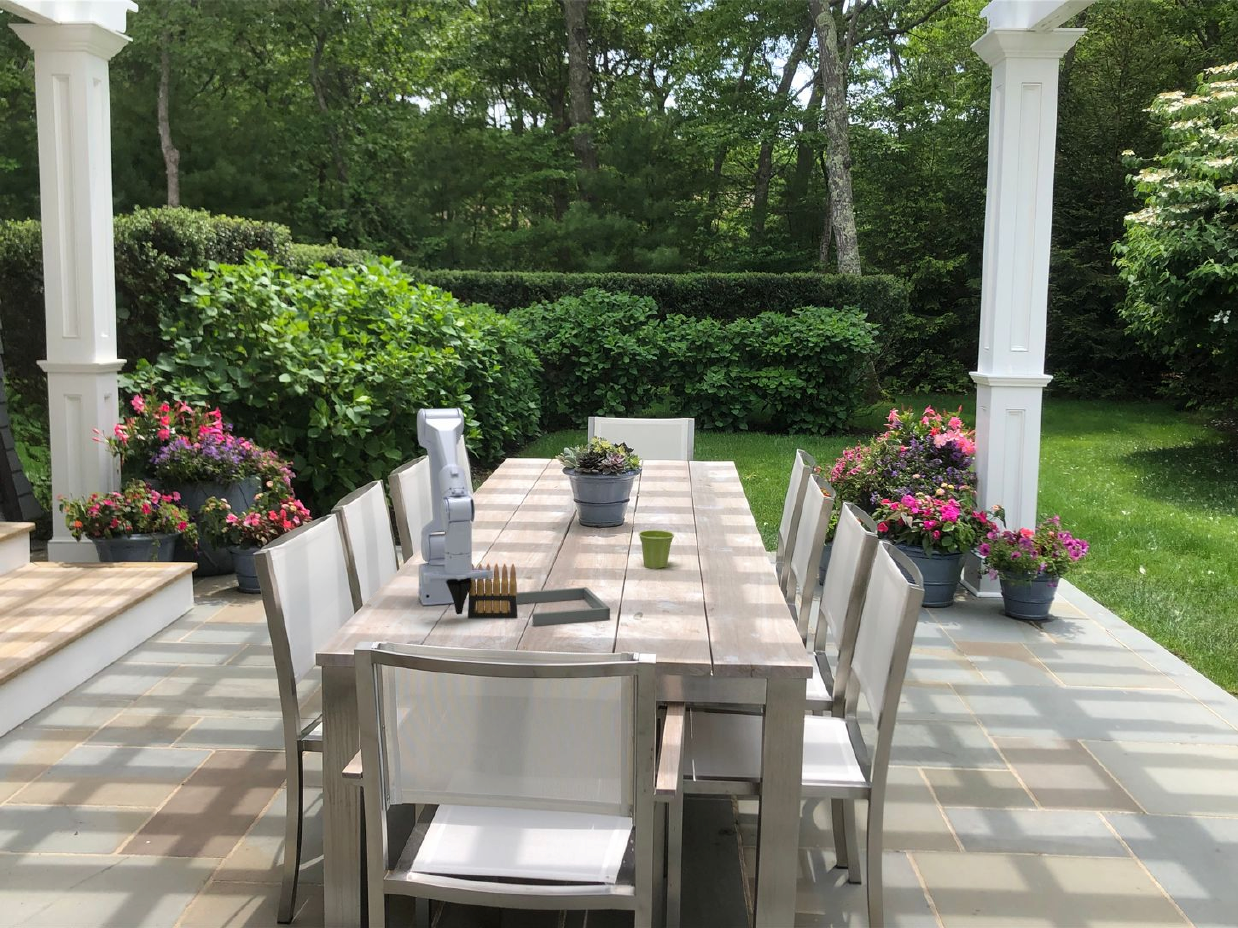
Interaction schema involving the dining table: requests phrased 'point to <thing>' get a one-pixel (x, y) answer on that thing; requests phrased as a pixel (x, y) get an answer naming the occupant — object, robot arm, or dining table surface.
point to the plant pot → (656, 547)
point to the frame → (570, 616)
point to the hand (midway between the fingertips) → (458, 613)
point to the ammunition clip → (494, 595)
